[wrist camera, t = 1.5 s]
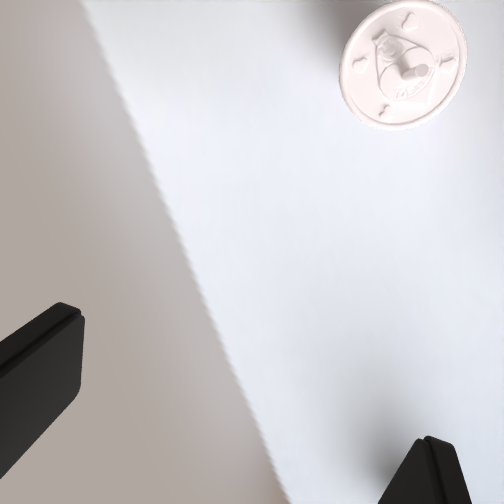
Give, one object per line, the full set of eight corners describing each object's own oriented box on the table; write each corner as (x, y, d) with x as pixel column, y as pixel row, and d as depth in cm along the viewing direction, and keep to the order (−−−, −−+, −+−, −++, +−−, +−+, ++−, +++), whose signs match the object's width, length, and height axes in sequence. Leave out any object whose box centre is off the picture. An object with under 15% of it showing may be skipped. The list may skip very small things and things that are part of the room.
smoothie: (372, 140, 30) (391, 167, 18) (323, 74, 29) (307, 52, 17) (447, 83, 28) (533, 66, 15) (397, 8, 27) (444, -76, 14)
